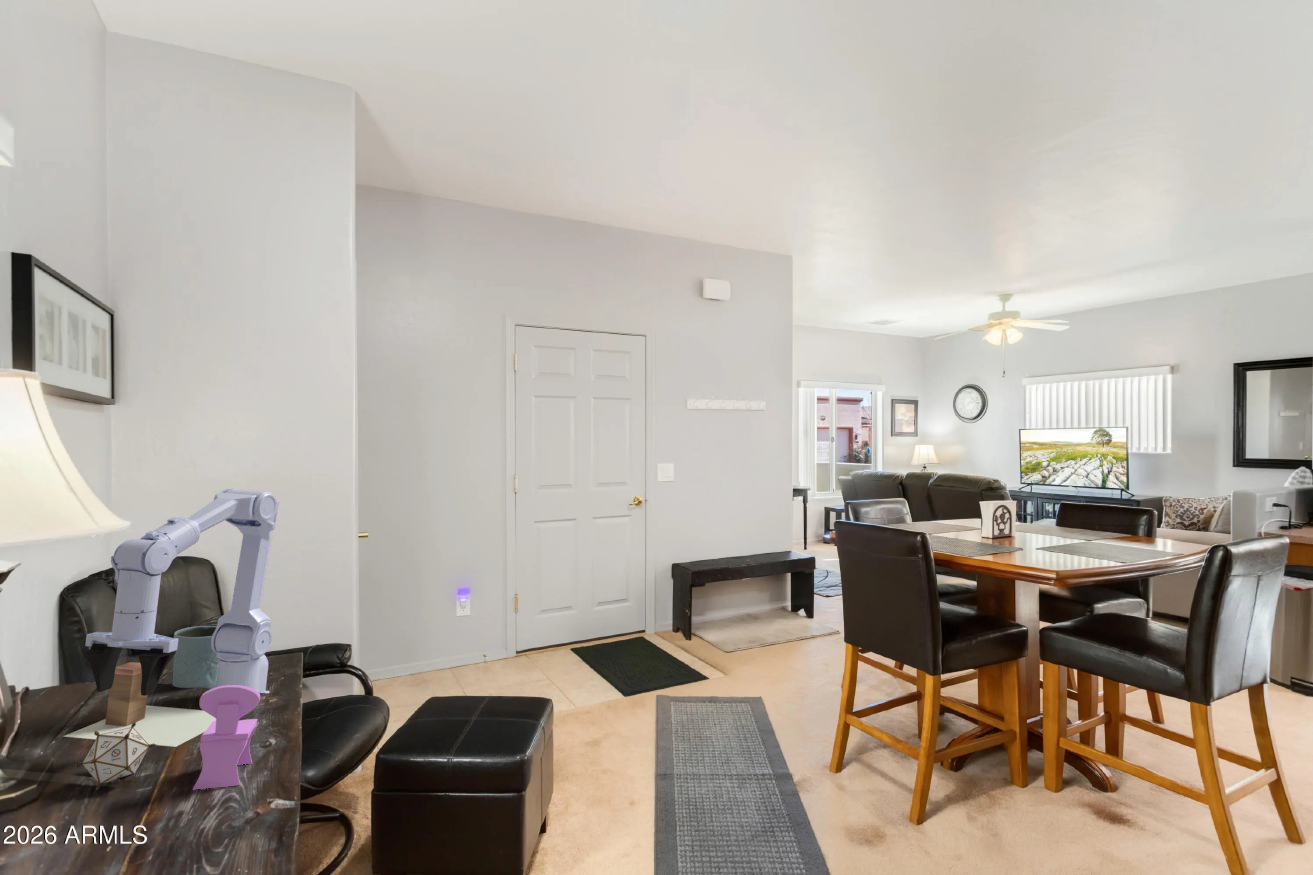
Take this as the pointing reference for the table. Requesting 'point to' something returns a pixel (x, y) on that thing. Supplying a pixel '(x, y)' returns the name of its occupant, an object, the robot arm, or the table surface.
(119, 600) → the robot arm
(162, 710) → the board
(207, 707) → the toy chair
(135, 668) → the walnut block
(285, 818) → the table surface
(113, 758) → the game die
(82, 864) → the table surface
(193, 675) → the green cylindrical pot
